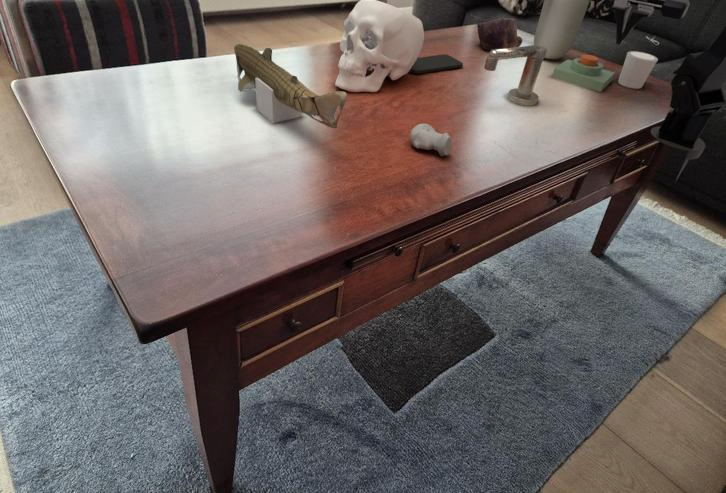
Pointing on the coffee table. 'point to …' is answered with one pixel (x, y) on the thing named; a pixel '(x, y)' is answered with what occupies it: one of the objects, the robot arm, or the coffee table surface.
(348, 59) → the skull planter
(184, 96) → the coffee table surface
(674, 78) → the robot arm
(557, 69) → the push button box
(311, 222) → the coffee table surface
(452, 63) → the phone
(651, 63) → the shot glass
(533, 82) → the faucet
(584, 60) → the button
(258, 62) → the wood carving
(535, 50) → the spout
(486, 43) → the rock
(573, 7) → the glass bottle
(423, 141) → the smooth white sculpture
